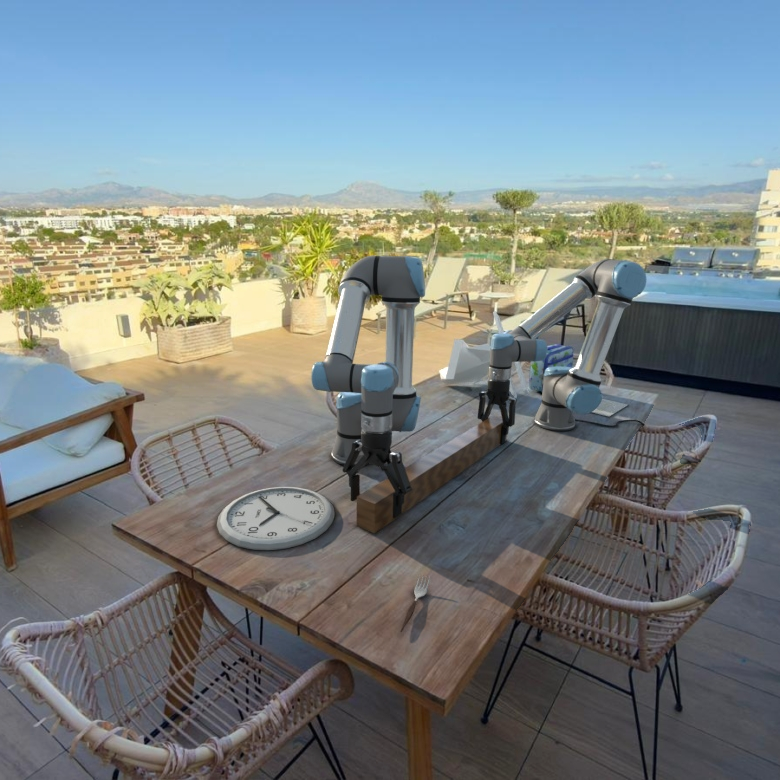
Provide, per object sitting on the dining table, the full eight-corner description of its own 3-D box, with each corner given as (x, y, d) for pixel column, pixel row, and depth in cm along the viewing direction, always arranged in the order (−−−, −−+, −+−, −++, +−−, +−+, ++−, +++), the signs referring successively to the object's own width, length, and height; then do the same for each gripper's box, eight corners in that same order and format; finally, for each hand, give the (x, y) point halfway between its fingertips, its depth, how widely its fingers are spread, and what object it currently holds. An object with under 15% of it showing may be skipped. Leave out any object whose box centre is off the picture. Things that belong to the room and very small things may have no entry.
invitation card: (608, 416, 214) (573, 407, 224) (608, 416, 214) (573, 408, 224) (628, 404, 229) (594, 396, 238) (628, 405, 229) (594, 397, 238)
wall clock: (333, 542, 123) (202, 546, 121) (333, 547, 124) (203, 552, 121) (335, 482, 152) (229, 485, 149) (335, 487, 152) (230, 490, 150)
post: (491, 436, 192) (493, 415, 190) (506, 440, 189) (508, 418, 186) (356, 525, 133) (356, 496, 131) (374, 533, 130) (374, 503, 127)
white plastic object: (461, 429, 252) (437, 405, 227) (444, 352, 274) (420, 323, 250) (535, 404, 240) (518, 377, 215) (510, 326, 262) (492, 293, 237)
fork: (394, 632, 98) (394, 623, 98) (419, 581, 113) (419, 573, 112) (407, 636, 97) (407, 627, 97) (430, 584, 112) (431, 576, 111)
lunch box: (545, 397, 238) (550, 352, 231) (524, 391, 245) (529, 348, 239) (572, 386, 255) (578, 344, 249) (552, 381, 262) (557, 340, 256)
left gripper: (328, 421, 131) (329, 497, 137) (409, 446, 117) (407, 529, 123) (348, 414, 137) (348, 487, 143) (428, 436, 123) (424, 517, 129)
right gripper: (469, 376, 183) (465, 437, 190) (520, 386, 172) (514, 450, 179) (479, 371, 188) (475, 431, 195) (529, 381, 178) (523, 444, 185)
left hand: (375, 507), depth 133 cm, fingers open, 13 cm apart
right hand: (494, 440), depth 187 cm, fingers closed on post, 6 cm apart
